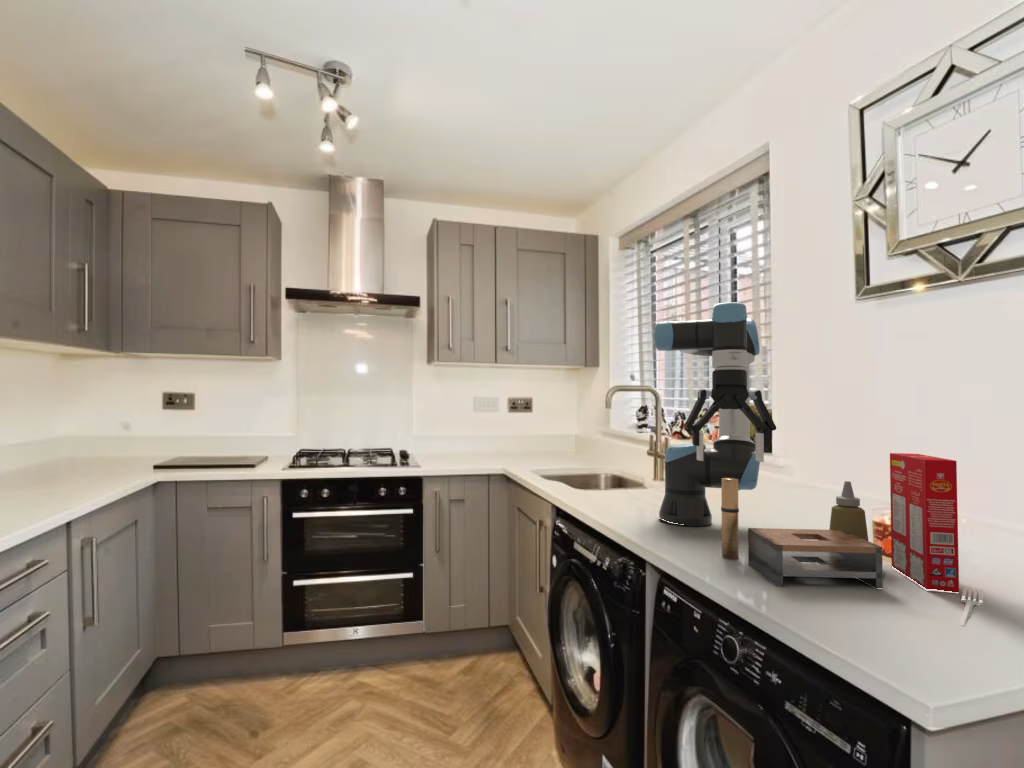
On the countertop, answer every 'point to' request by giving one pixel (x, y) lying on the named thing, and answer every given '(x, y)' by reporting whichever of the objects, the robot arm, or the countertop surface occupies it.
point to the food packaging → (925, 519)
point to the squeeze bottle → (849, 514)
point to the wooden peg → (730, 519)
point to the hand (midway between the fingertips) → (729, 461)
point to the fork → (969, 605)
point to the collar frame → (813, 555)
